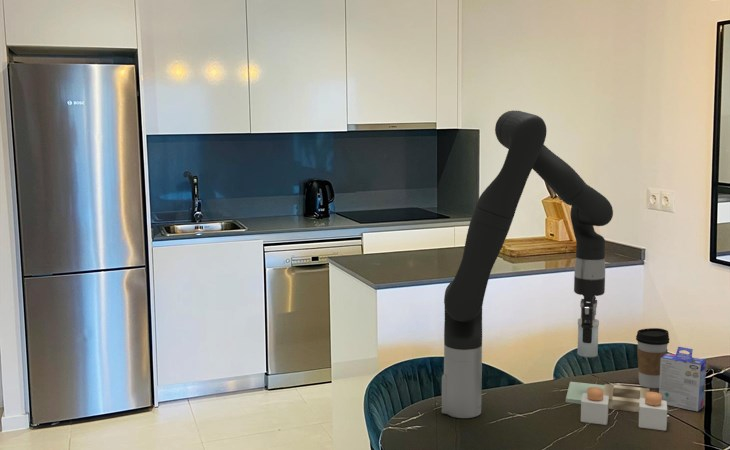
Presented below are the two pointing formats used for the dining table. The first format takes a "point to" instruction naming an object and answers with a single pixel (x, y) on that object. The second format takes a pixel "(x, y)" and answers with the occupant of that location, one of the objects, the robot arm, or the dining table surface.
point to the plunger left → (595, 393)
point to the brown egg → (653, 398)
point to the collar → (624, 397)
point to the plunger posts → (647, 413)
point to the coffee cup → (651, 355)
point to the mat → (579, 391)
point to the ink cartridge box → (682, 380)
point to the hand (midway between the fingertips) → (587, 339)
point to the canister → (588, 348)
